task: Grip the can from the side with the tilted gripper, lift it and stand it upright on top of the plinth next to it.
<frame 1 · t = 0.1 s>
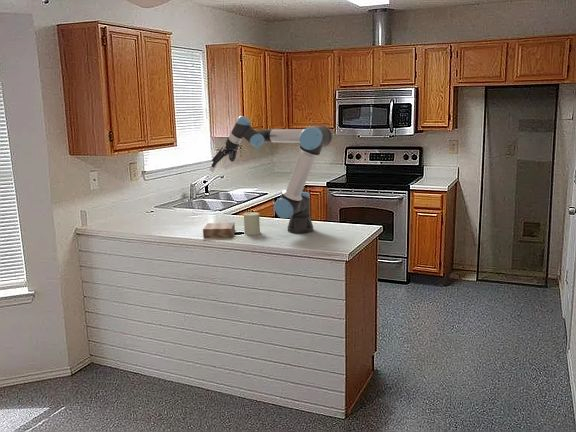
hand: (218, 169, 335), 36 cm above the countertop, tool tilted 35°, fingers open, 13 cm apart
plinth: (219, 234, 326), on the countertop
can: (252, 233, 326), on the countertop
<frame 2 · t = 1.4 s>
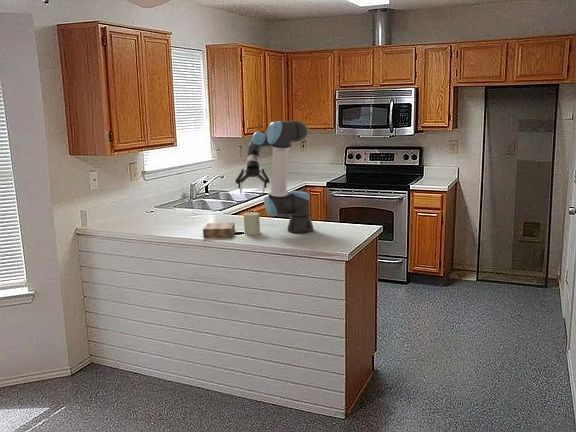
hand: (252, 192, 332), 22 cm above the countertop, tool tilted 45°, fingers open, 13 cm apart
nothing on the countertop moved.
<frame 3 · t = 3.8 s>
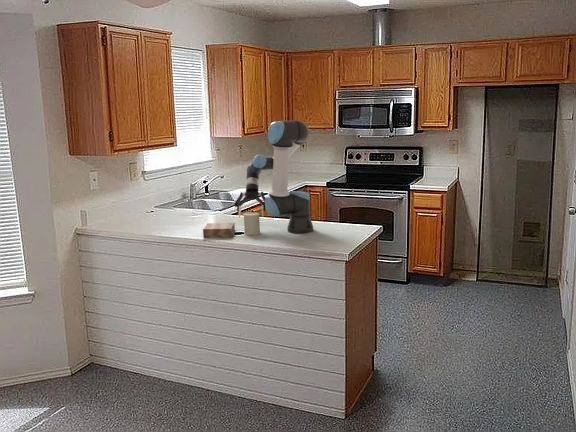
hand: (250, 215, 329), 9 cm above the countertop, tool tilted 45°, fingers open, 13 cm apart
nothing on the countertop moved.
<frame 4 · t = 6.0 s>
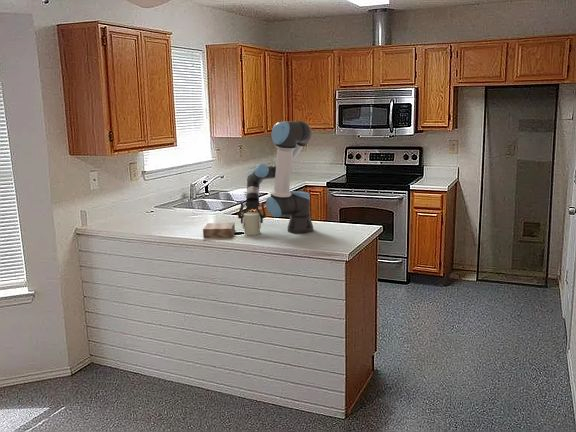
hand: (251, 227, 323), 4 cm above the countertop, tool tilted 45°, fingers closed on can, 9 cm apart
can: (252, 233, 327), on the countertop, touching gripper
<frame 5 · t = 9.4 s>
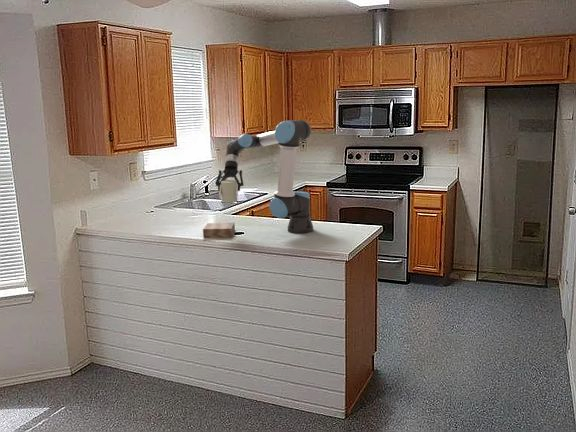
hand: (228, 195, 321), 23 cm above the countertop, tool tilted 45°, fingers closed on can, 9 cm apart
can: (229, 201, 325), point 19 cm above the countertop, touching gripper
when the fingers open (10 cm above the countertop, at t = 13.1 s): can drops 1 cm, resting on plinth.
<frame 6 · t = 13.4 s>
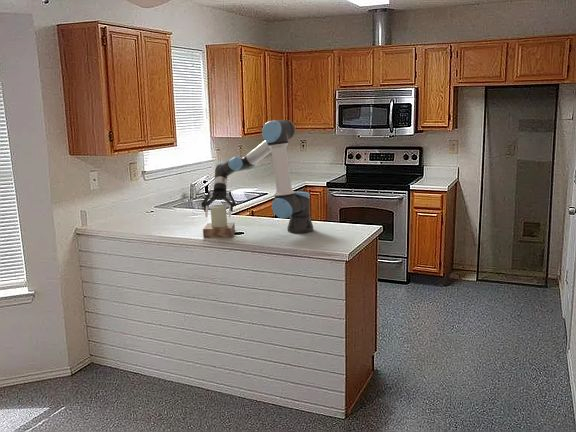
hand: (217, 216, 321), 11 cm above the countertop, tool tilted 45°, fingers open, 13 cm apart
can: (219, 226, 325), point 5 cm above the countertop, touching plinth
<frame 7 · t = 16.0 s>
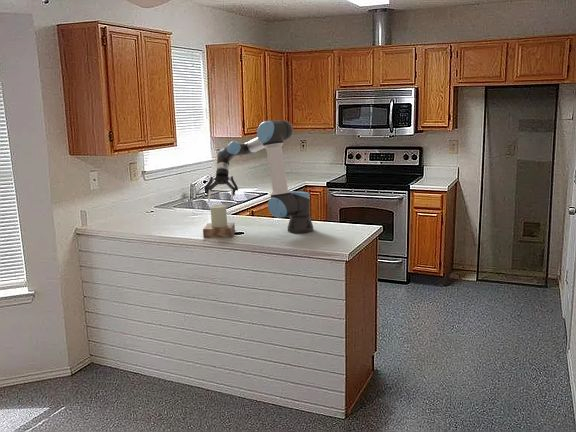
hand: (220, 199, 332), 19 cm above the countertop, tool tilted 45°, fingers open, 13 cm apart
nothing on the countertop moved.
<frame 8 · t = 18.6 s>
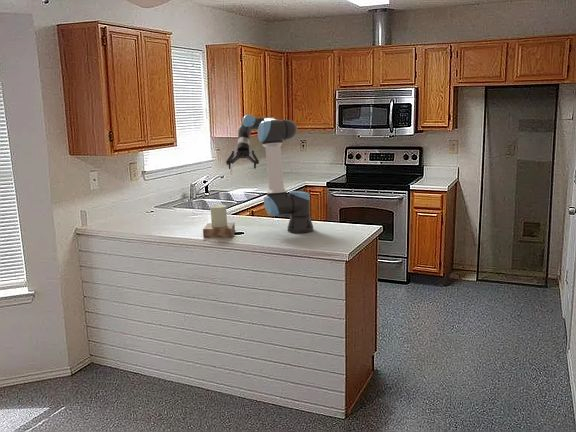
hand: (242, 172, 343), 33 cm above the countertop, tool tilted 45°, fingers open, 13 cm apart
nothing on the countertop moved.
at the end: can inside the target area on the plinth (0.2 cm from its centre), point 4.8 cm above the plinth's base; can tilted 0°; the gripper is holding nothing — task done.
